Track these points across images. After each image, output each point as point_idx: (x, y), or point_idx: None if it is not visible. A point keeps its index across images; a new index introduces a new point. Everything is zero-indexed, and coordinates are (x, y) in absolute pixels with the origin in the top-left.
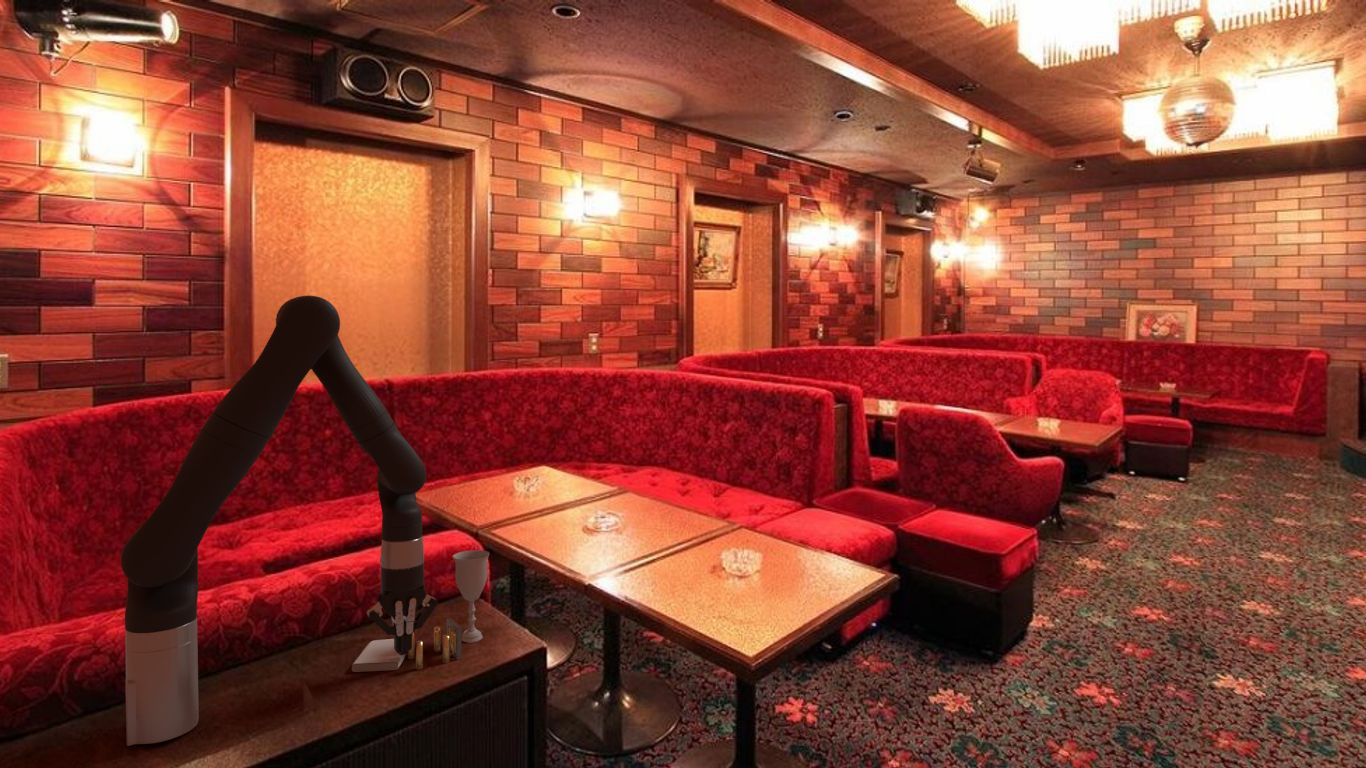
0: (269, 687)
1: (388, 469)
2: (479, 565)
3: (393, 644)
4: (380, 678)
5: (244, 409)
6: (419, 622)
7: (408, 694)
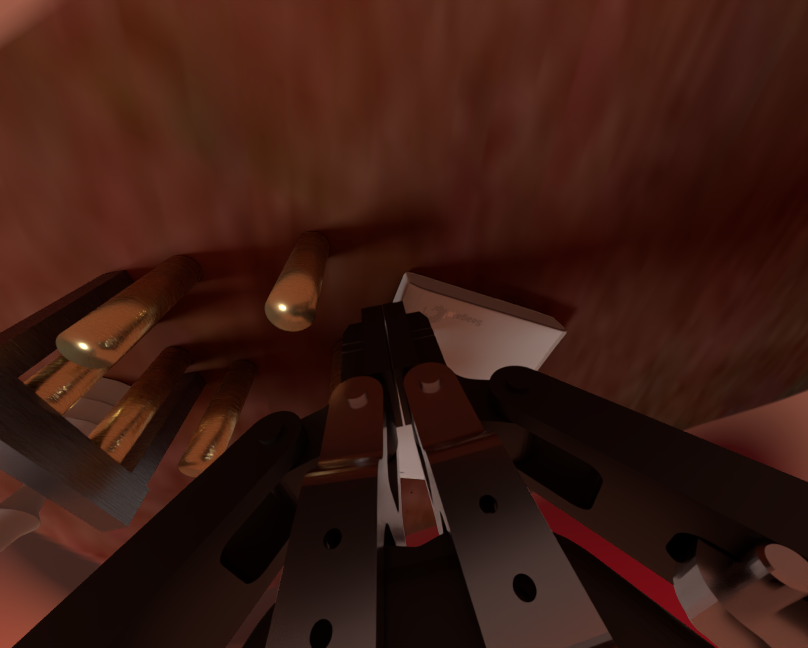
0: (769, 301)
1: None
2: None
3: (402, 435)
4: (485, 213)
5: None
6: (261, 461)
7: None
